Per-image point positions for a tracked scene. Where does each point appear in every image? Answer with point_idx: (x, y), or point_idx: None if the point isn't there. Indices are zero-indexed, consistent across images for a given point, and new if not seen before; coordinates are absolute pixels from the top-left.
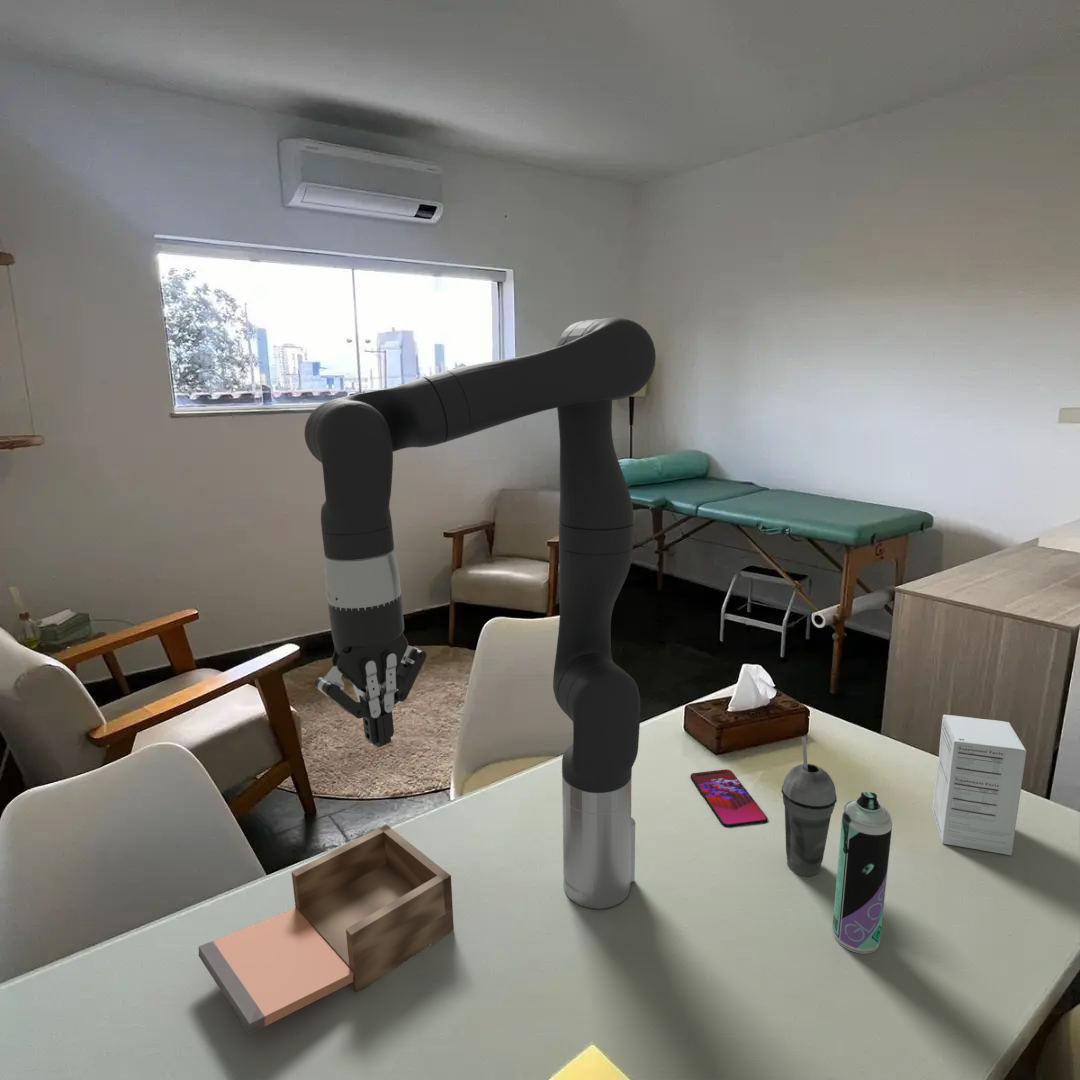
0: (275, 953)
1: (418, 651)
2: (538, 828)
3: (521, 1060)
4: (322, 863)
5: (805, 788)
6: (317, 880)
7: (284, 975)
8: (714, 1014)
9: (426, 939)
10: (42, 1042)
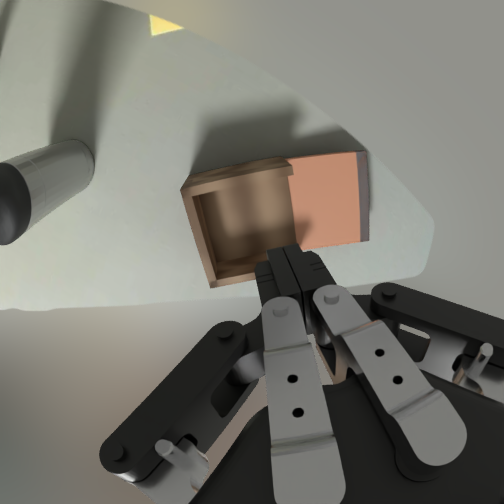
0: (329, 208)
1: (129, 477)
2: (87, 250)
3: (200, 44)
4: None
5: None
6: None
7: (331, 183)
8: (76, 32)
9: (215, 170)
10: (424, 231)
